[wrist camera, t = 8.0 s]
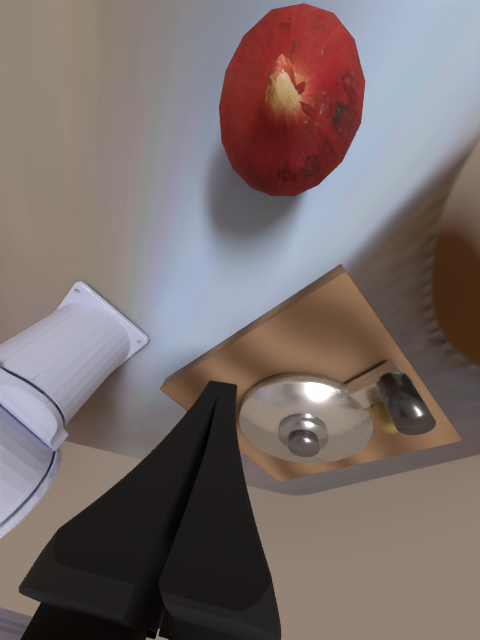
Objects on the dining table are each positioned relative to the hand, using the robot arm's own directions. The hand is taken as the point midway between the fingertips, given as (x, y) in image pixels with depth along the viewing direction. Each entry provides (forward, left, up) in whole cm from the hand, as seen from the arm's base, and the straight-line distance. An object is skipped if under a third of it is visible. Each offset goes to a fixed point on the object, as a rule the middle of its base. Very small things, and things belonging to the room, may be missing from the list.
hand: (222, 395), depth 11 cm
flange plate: (-1, -12, -7) cm, 14 cm away
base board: (-3, -12, -9) cm, 16 cm away
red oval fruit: (+9, +7, -10) cm, 15 cm away
